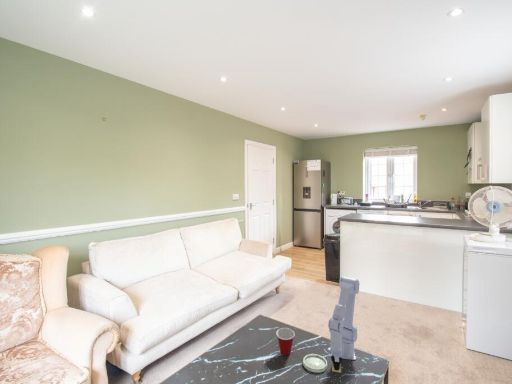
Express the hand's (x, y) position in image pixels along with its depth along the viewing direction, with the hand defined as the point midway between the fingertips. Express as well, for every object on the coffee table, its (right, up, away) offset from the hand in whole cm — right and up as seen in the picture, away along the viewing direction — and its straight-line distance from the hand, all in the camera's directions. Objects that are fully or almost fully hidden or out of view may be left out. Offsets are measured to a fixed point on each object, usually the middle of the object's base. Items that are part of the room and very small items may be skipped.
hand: (336, 366), depth 144 cm
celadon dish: (-10, -2, +4) cm, 11 cm away
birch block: (0, -1, 0) cm, 1 cm away
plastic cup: (-25, -2, +15) cm, 29 cm away
